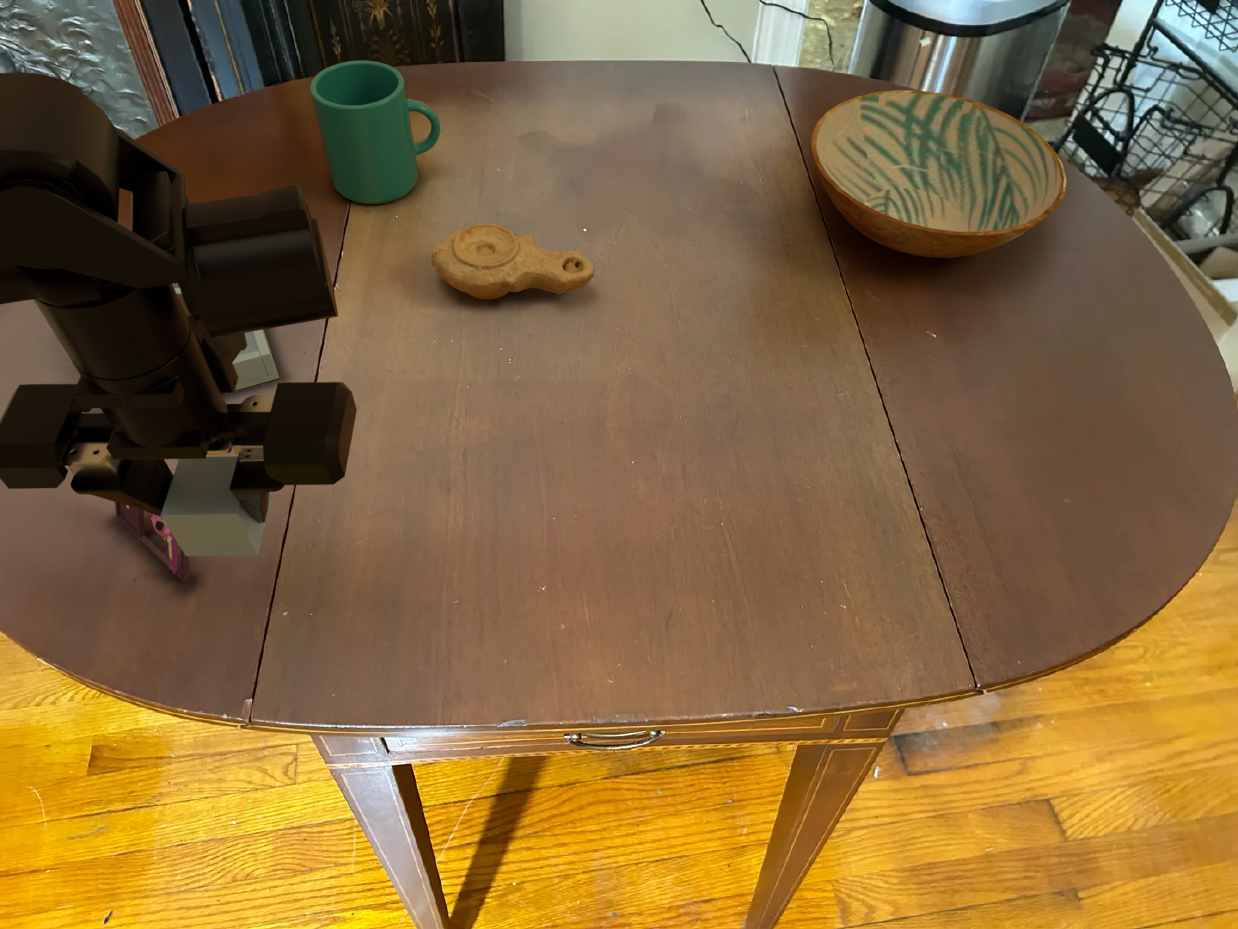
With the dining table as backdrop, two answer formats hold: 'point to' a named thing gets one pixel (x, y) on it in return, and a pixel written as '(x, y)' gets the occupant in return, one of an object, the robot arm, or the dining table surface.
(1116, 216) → the dining table surface
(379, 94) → the cup
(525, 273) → the oil lamp
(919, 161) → the bowl
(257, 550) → the gray block
